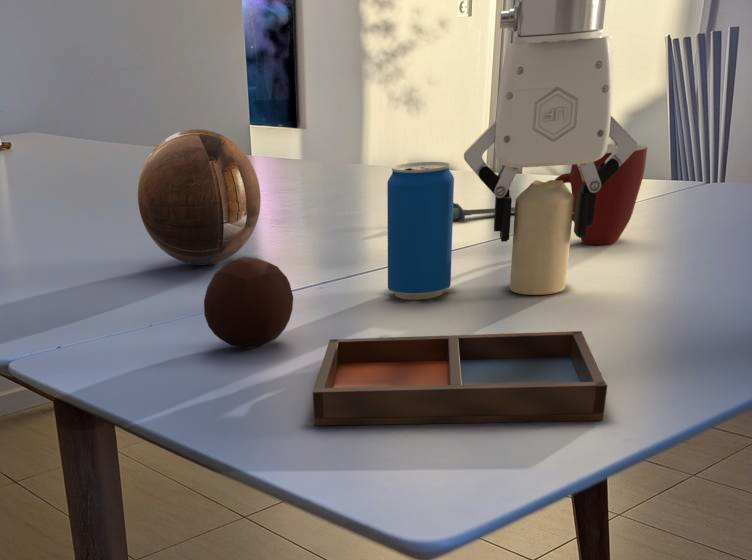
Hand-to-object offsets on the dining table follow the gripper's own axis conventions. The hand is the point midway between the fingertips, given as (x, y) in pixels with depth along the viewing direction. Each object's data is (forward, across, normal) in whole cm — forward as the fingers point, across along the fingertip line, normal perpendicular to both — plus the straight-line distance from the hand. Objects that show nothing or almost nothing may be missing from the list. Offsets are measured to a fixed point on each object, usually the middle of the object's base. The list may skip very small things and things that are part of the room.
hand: (541, 235), depth 91 cm
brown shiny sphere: (+5, -39, +20) cm, 44 cm away
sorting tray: (+5, -9, -31) cm, 33 cm away
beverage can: (+5, -12, 0) cm, 13 cm away
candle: (+5, 0, 0) cm, 5 cm away
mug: (+5, +8, +22) cm, 24 cm away
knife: (+5, -4, +43) cm, 44 cm away
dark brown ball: (+5, -27, -17) cm, 32 cm away
